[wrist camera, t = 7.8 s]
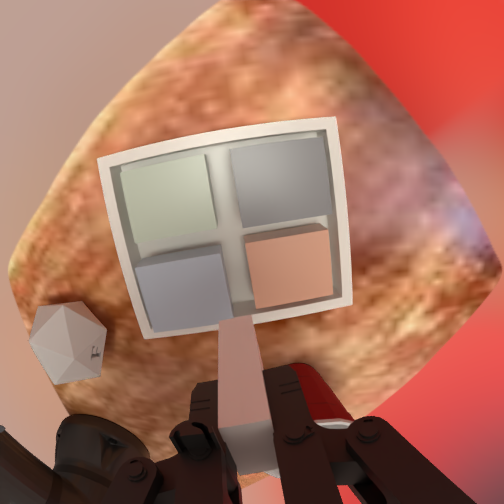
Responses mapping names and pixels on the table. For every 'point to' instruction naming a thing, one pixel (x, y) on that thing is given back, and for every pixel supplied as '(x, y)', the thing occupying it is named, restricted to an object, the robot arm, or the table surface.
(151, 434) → the table surface
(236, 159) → the key charcoal
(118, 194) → the keypad
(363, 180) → the table surface
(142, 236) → the key sage
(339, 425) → the plastic cup
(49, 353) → the die
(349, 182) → the table surface
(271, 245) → the key terracotta
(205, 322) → the key slate
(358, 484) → the robot arm
